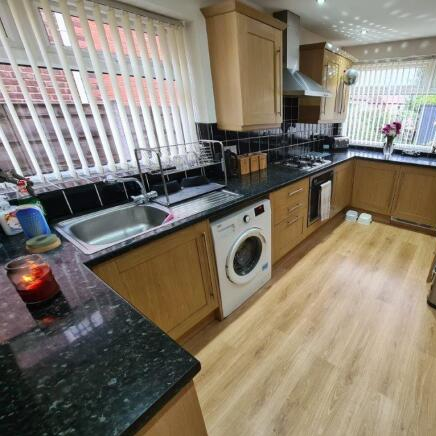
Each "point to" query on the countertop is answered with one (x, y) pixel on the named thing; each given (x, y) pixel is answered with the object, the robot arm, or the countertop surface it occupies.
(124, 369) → the countertop surface
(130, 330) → the countertop surface
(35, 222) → the blue canister
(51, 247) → the green frosted donut
